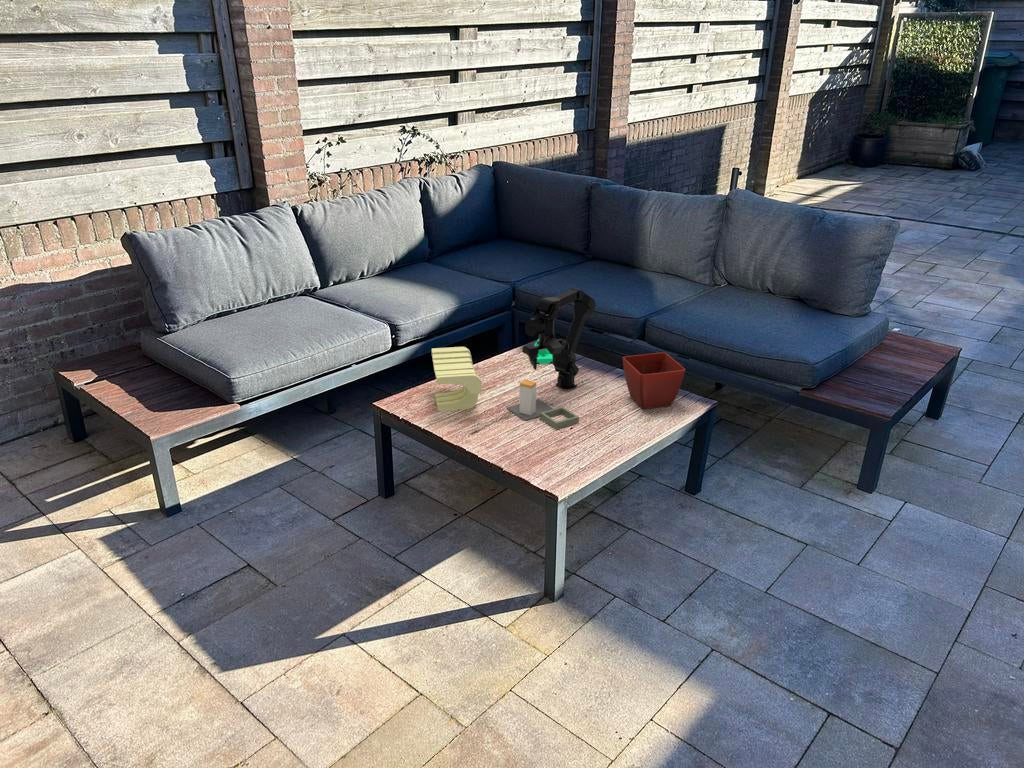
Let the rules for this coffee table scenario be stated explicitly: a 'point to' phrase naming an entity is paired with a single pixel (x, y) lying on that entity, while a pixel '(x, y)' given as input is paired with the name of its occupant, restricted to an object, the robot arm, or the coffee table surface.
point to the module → (527, 397)
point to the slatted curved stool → (456, 378)
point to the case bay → (563, 423)
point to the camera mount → (544, 356)
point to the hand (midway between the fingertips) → (544, 367)
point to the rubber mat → (539, 408)
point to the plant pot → (653, 379)
